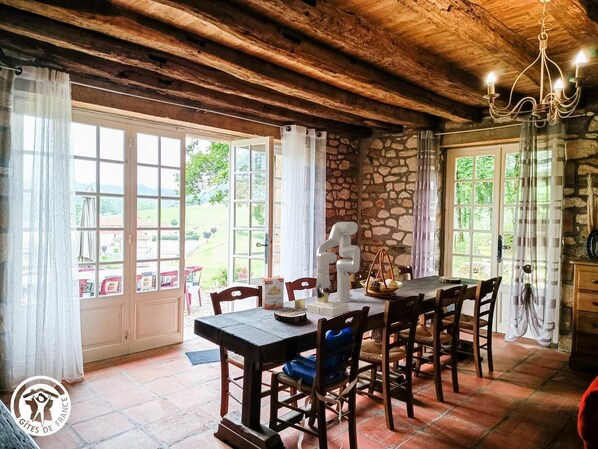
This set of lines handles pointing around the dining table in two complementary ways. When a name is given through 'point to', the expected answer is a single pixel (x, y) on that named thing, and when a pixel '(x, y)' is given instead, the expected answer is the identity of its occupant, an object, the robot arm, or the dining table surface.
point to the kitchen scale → (328, 307)
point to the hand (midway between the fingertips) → (323, 296)
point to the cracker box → (272, 293)
